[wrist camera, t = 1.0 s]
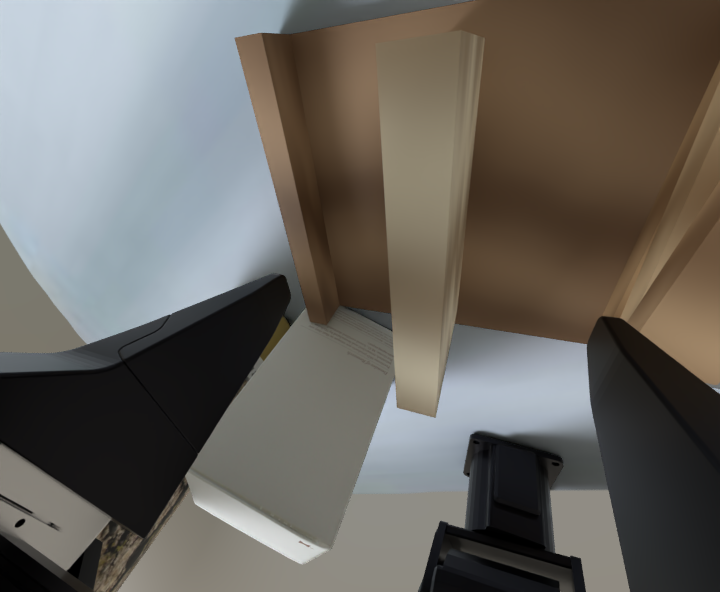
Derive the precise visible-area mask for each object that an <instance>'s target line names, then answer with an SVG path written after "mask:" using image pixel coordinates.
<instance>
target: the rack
mask: <svg viewBox="0 0 720 592" xmlns="http://www.w3.org/2000/svg"><path fill="white" fill-rule="evenodd" d="M459 30H462V31H465V32H468V33H471V34H474V35H477V36H481V37H484V38H485V42H484V52H483V62H482V72H481V81H480V91H479V101H478V111H477V121H476V130H475V140H474V150H473V160H472V170H471V180H470V189H469V199H468V209H467V219H466V229H465V238H464V248H463V258H462V268H461V278H460V288H459V297H458V307H457V314H456V319H455V324H461V325H468V326H474V327H480V328H487V329H493V330H500V331H506V332H512V333H519V334H525V335H532V336H538V337H544V338H551V339H557V340H564V341H570V342H576V343H583V344H587V343H588V340H589V337H590V335H591V333H592V331H593V328H594V326H595V324H596V322H597V320H598V319H599V317H601V316H602V315H603V313H604V311H605V308H606V306H607V304H608V302H609V300H610V298H611V295H612V293H613V291H614V289H615V287H616V285H617V282H618V280H619V278H620V276H621V274H622V272H623V270H624V267H625V265H626V263H627V261H628V259H629V257H630V254H631V252H632V250H633V248H634V246H635V244H636V241H637V239H638V237H639V235H640V233H641V231H642V228H643V226H644V224H645V222H646V220H647V218H648V215H649V213H650V211H651V209H652V207H653V205H654V202H655V200H656V198H657V196H658V194H659V192H660V189H661V187H662V185H663V183H664V181H665V179H666V176H667V174H668V172H669V170H670V168H671V166H672V163H673V161H674V159H675V157H676V155H677V153H678V150H679V148H680V146H681V144H682V142H683V140H684V137H685V135H686V133H687V131H688V129H689V127H690V124H691V122H692V120H693V118H694V116H695V114H696V111H697V109H698V107H699V105H700V103H701V101H702V98H703V96H704V94H705V92H706V90H707V88H708V85H709V83H710V81H711V79H712V77H713V75H714V72H715V70H716V68H717V66H718V64H719V62H720V0H475V1H469V2H464V3H459V4H453V5H448V6H442V7H437V8H431V9H426V10H420V11H415V12H409V13H404V14H399V15H393V16H388V17H382V18H377V19H371V20H366V21H360V22H355V23H349V24H344V25H339V26H333V27H328V28H322V29H317V30H311V31H306V32H300V33H295V34H274V33H258V34H252V35H247V36H242V37H237V38H235V41H236V45H237V49H238V52H239V56H240V60H241V64H242V67H243V71H244V75H245V79H246V83H247V86H248V90H249V94H250V98H251V101H252V105H253V109H254V113H255V117H256V120H257V124H258V128H259V132H260V135H261V139H262V143H263V147H264V150H265V154H266V158H267V162H268V166H269V169H270V173H271V177H272V181H273V184H274V188H275V192H276V196H277V200H278V203H279V207H280V211H281V215H282V218H283V222H284V226H285V230H286V234H287V237H288V241H289V245H290V249H291V252H292V256H293V260H294V264H295V267H296V271H297V275H298V279H299V283H300V286H301V290H302V294H303V298H304V301H305V305H306V309H307V313H308V317H309V320H310V322H313V323H318V324H324V325H327V324H328V322H329V321H330V319H331V318H332V316H333V315H334V313H335V312H336V310H337V309H338V307H339V306H346V307H352V308H359V309H365V310H372V311H378V312H384V313H391V298H390V281H389V264H388V247H387V231H386V214H385V197H384V180H383V163H382V146H381V129H380V112H379V95H378V78H377V62H376V45H375V43H381V42H388V41H394V40H401V39H407V38H414V37H420V36H426V35H433V34H439V33H446V32H452V31H459Z"/></svg>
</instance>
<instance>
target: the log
mask: <svg viewBox="0 0 720 592" xmlns="http://www.w3.org/2000/svg"><path fill="white" fill-rule="evenodd" d="M289 328H290V325H289V324H288V322H287V320H286V319H285V318H284V316H282V318H281V320H280V323H279V325H278V327H277V329H276V331H275V333H274V334H273V336H272V338H271V340H270V341H269V343H268V345H267V346H266V348H265V349H264V351H263V353H262V354H261V356H260V357H259V359H258V361H257V362H256V364H255V365H254V367H253V368H252V370H251V372H250V373H249V375H248V376H247V378H246V380H245V381H244V383H243V384H242V386H241V388H240V389H239V391H238V392H237V394H236V396H237V395H238V394H239V393H240V391H241V390H242V389H243V387H244V386H245V385H246V384H247V382H248V381H249V380H250V378H251V377H252V376H253V375H254V373H255V372H256V371H257V369H258V368H259V367H260V366H261V364H262V363H263V362H264V360H265V359H266V358H267V356H268V355H269V354H270V353H271V351H272V350H273V349H274V347H275V346H276V345H277V344H278V342H279V341H280V340H281V339H282V337H283V336H284V335H285V333H286V332H287V331H288V330H289ZM236 396H235V397H234V399H235V398H236ZM234 399H233V400H234ZM233 400H232V402H233ZM232 402H231V403H232ZM231 403H230V404H231ZM189 491H190V488H189V485H188V482H187V480H186V477H184V479H183V480H182V482H181V483H180V485H179V487H178V488H177V490H176V491H175V493H174V494H173V496H172V498H171V499H170V501H169V502H168V504H167V506H166V507H165V509H164V510H163V512H162V514H161V515H160V517H159V518H158V520H157V522H156V523H155V525H154V526H153V528H152V529H151V531H150V532H149V534H148V535H147V536H146V538H145V539H142V538H141V537H139V536H137V535H135V534H134V533H132V532H130V531H129V530H127V529H125V528H123V527H122V526H120V525H118V524H116V523H115V522H113V521H111V520H110V521H109V523H108V524H107V525H106V526H105V527H104V529H103V530H102V531H101V532H100V533H99V534H98V536H97V537H96V538H97V539H98V540H100V541H102V542H103V545H102V550H101V555H100V560H99V565H98V570H97V575H96V580H95V585H94V590H93V591H95V592H117V591H118V590H119V588H120V587H121V586H122V584H123V583H124V581H125V580H126V579H127V577H128V576H129V574H130V573H131V572H132V570H133V569H134V568H135V566H136V565H137V563H138V562H139V560H140V559H141V558H142V556H143V555H144V554H145V552H146V551H147V550H148V548H149V547H150V545H151V544H152V542H153V541H154V540H155V538H156V537H157V536H158V534H159V533H160V531H161V530H162V529H163V527H164V526H165V525H166V523H167V522H168V520H169V519H170V517H171V516H172V515H173V513H174V512H175V511H176V509H177V508H178V507H179V505H180V504H181V502H182V501H183V500H184V498H185V497H186V495H187V494H188V493H189Z"/></svg>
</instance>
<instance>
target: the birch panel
mask: <svg viewBox="0 0 720 592" xmlns="http://www.w3.org/2000/svg"><path fill="white" fill-rule="evenodd" d="M484 42H485V38H484V37H481V36H477V35H474V34H471V33H468V32H465V31H462V30H459V31H452V32H446V33H439V34H433V35H426V36H420V37H414V38H407V39H401V40H394V41H388V42H381V43H375V45H376V62H377V78H378V95H379V112H380V129H381V146H382V163H383V180H384V197H385V214H386V231H387V247H388V264H389V281H390V298H391V315H392V332H393V349H394V366H395V383H396V400H397V408H400V409H404V410H408V411H412V412H415V413H419V414H423V415H427V416H431V417H435V418H436V413H437V408H438V403H439V398H440V393H441V388H442V383H443V378H444V373H445V368H446V363H447V358H448V353H449V348H450V343H451V339H452V334H453V329H454V324H455V319H456V314H457V307H458V297H459V288H460V278H461V268H462V258H463V248H464V238H465V229H466V219H467V209H468V199H469V189H470V180H471V170H472V160H473V150H474V140H475V130H476V121H477V111H478V101H479V91H480V81H481V72H482V62H483V52H484Z"/></svg>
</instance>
